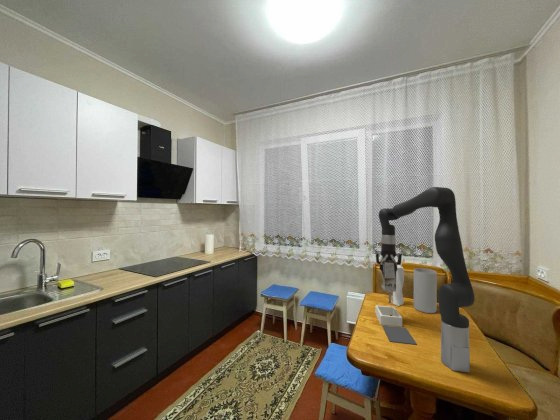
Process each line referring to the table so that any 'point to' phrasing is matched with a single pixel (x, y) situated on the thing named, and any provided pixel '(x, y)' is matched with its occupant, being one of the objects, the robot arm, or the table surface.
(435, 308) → the cylinder vase
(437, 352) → the table surface
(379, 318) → the sleeve box
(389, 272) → the coffee box
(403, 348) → the table surface
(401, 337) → the rubber mat
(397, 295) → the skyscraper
